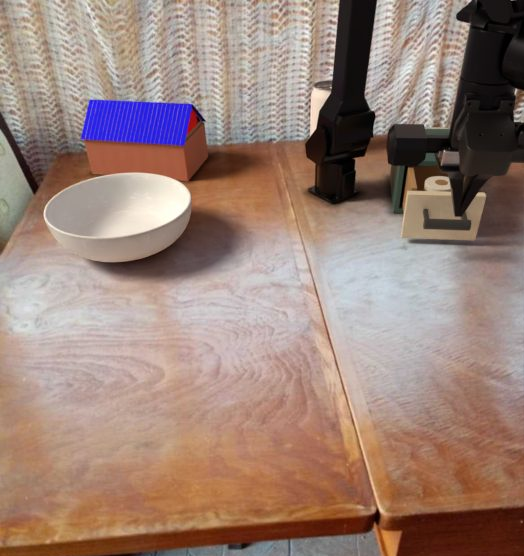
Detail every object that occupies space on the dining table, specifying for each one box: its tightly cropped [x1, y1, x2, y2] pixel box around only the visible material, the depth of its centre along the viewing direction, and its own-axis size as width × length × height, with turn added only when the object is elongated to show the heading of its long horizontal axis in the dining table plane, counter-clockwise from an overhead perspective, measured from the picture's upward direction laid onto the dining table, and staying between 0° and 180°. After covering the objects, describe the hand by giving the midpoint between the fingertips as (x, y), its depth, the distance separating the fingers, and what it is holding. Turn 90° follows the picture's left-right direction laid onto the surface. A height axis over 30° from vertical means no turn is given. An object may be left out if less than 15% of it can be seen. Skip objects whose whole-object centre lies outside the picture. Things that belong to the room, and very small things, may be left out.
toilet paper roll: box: [423, 176, 451, 192], centre depth 79 cm, size 5×5×5 cm
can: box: [309, 79, 332, 137], centre depth 103 cm, size 6×6×12 cm
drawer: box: [400, 166, 487, 241], centre depth 78 cm, size 17×10×7 cm, turn 172°
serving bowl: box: [43, 173, 193, 263], centre depth 80 cm, size 21×21×7 cm
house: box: [80, 98, 209, 182], centre depth 100 cm, size 12×20×12 cm, turn 76°
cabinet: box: [389, 128, 450, 214], centre depth 87 cm, size 14×12×9 cm
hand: (457, 215), depth 66 cm, fingers closed
